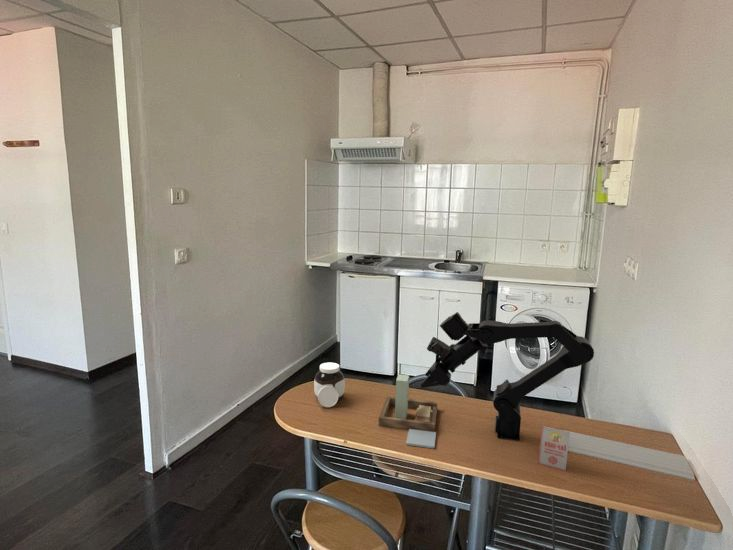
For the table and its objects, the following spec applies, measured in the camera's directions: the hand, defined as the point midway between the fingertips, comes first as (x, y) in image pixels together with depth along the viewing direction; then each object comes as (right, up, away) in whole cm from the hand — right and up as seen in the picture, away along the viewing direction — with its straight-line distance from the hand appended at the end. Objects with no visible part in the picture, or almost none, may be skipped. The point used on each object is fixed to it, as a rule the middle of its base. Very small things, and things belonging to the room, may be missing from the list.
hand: (423, 380), depth 136 cm
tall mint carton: (-7, -12, +4) cm, 15 cm away
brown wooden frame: (-4, -12, +4) cm, 14 cm away
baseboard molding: (+53, -18, -15) cm, 58 cm away
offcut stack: (0, -13, +3) cm, 13 cm away
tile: (-2, -15, -10) cm, 18 cm away
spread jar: (-31, -10, +14) cm, 35 cm away
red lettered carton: (+31, -18, -20) cm, 41 cm away
